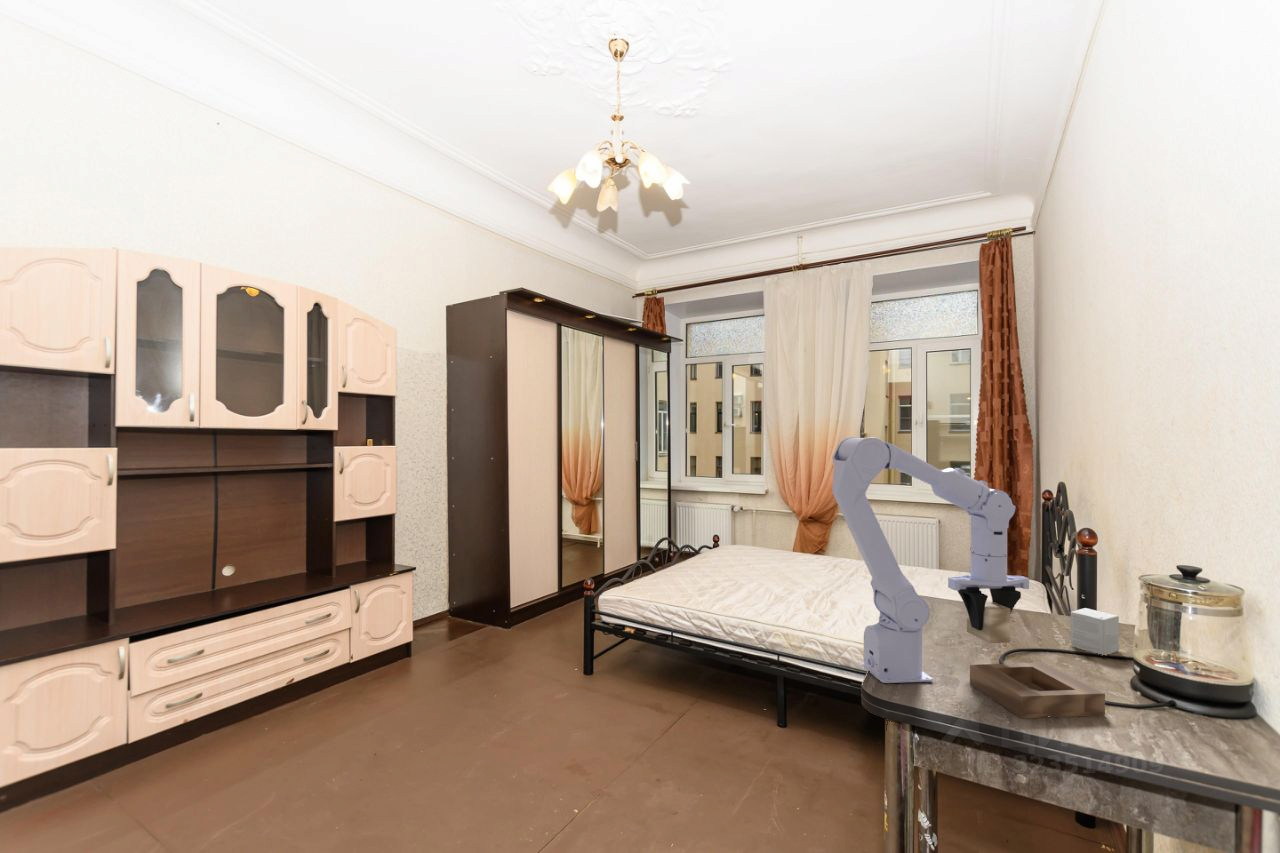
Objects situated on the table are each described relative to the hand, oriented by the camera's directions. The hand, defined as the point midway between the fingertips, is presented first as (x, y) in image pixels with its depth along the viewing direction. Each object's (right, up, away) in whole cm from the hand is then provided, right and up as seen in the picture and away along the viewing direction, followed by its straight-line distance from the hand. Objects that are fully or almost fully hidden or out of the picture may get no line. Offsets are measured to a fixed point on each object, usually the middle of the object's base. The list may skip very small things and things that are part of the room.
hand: (988, 628), depth 105 cm
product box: (+30, -9, +13) cm, 34 cm away
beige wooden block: (0, -2, 0) cm, 2 cm away
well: (+2, -8, -10) cm, 13 cm away
